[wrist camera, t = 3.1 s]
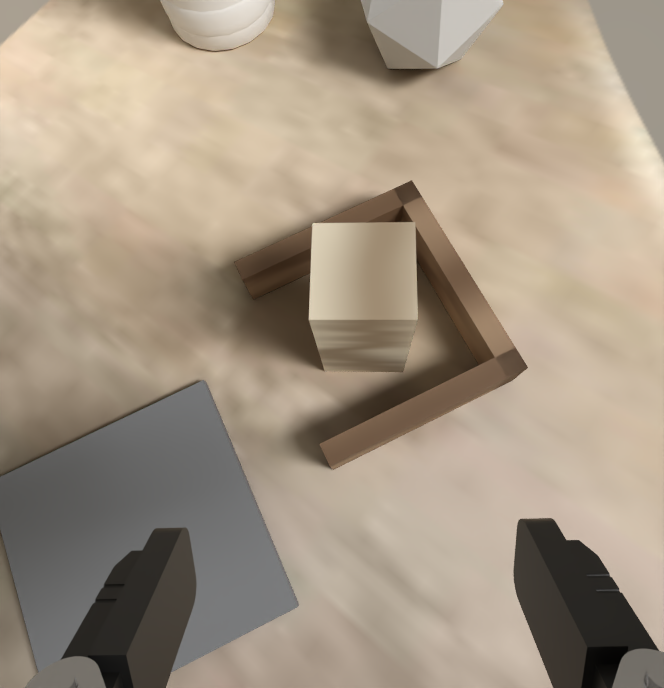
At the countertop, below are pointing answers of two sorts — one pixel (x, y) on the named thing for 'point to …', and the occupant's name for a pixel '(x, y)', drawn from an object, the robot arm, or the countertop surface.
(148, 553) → the robot arm
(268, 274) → the stall
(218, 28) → the bottle
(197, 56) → the countertop surface
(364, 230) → the ash block
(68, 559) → the pad
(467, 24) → the die
